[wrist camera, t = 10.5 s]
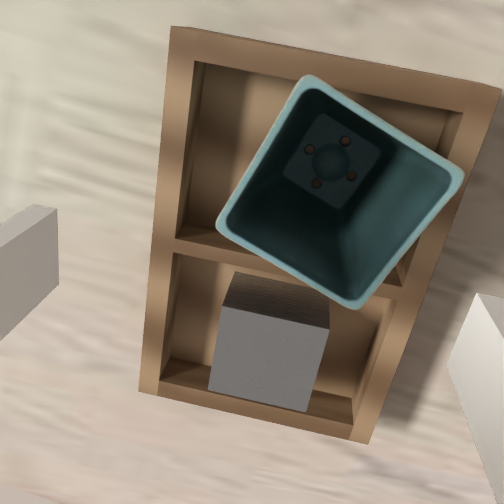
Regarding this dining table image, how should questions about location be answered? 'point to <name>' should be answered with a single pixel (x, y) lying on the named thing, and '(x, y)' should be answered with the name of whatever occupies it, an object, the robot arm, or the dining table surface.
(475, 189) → the dining table surface
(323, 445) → the dining table surface
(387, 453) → the dining table surface
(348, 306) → the flower pot
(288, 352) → the grey metal block
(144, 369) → the wooden divided tray
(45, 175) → the dining table surface
